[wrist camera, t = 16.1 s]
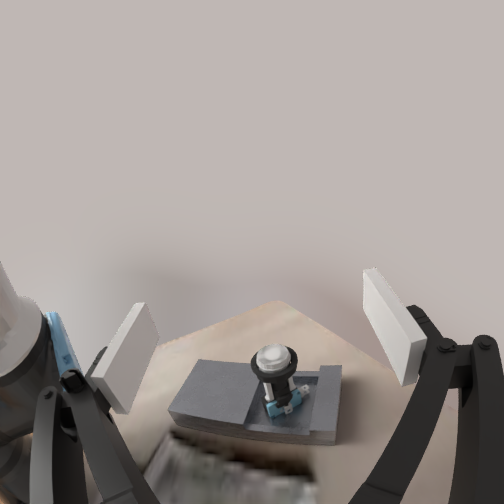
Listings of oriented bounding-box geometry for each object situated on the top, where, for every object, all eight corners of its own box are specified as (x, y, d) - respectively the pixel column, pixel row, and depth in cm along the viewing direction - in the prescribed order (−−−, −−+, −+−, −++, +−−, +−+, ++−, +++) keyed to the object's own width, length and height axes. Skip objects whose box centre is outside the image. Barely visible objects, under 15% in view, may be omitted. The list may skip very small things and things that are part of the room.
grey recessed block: (176, 424, 36) (167, 409, 34) (205, 375, 45) (198, 359, 44) (334, 445, 29) (335, 430, 27) (341, 382, 38) (341, 365, 37)
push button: (298, 382, 38) (290, 328, 35) (320, 404, 34) (315, 350, 30) (257, 403, 36) (241, 351, 33) (275, 428, 32) (261, 378, 28)
